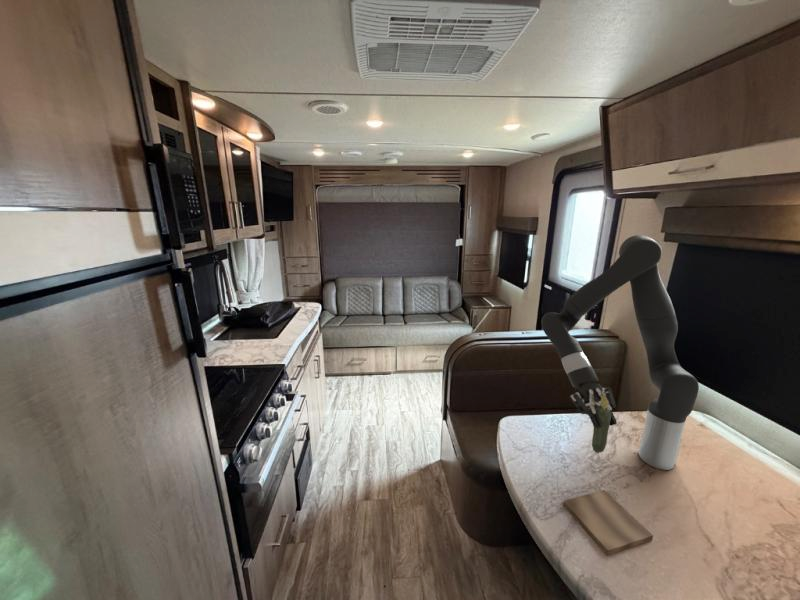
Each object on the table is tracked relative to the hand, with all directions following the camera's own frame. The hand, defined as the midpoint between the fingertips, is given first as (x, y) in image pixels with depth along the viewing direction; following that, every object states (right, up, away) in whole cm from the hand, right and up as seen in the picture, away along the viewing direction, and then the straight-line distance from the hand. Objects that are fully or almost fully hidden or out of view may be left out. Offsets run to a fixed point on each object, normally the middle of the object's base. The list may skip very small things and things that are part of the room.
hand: (606, 426), depth 90 cm
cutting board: (-6, -22, -8) cm, 24 cm away
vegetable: (0, -10, +5) cm, 12 cm away
